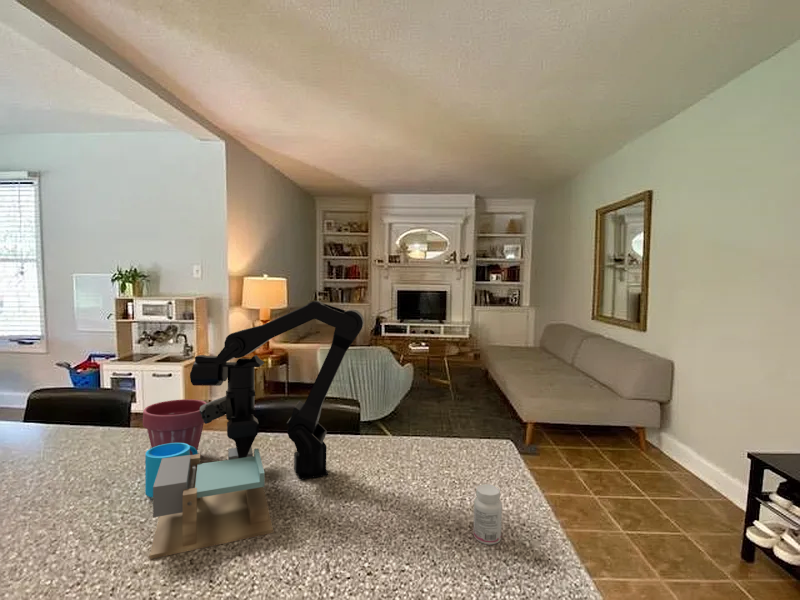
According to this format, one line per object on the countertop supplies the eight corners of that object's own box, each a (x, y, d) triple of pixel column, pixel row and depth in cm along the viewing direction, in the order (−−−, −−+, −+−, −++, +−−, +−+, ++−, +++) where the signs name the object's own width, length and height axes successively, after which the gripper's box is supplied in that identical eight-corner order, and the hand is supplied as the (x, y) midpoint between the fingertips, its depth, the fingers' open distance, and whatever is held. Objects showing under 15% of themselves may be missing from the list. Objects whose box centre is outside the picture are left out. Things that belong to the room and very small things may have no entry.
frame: (262, 486, 89) (262, 444, 88) (273, 532, 72) (273, 481, 72) (163, 503, 81) (163, 457, 81) (149, 559, 65) (149, 502, 64)
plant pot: (219, 455, 104) (220, 404, 104) (163, 476, 93) (163, 419, 92) (187, 442, 112) (187, 395, 112) (131, 460, 100) (131, 408, 100)
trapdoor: (258, 470, 85) (258, 446, 85) (264, 497, 74) (264, 470, 74) (162, 484, 78) (161, 458, 78) (153, 517, 67) (153, 487, 67)
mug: (167, 501, 82) (167, 460, 82) (135, 494, 85) (135, 454, 84) (211, 475, 94) (211, 439, 93) (182, 469, 96) (183, 434, 96)
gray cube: (251, 466, 99) (251, 445, 98) (252, 475, 94) (252, 453, 94) (228, 469, 97) (228, 448, 96) (228, 479, 92) (228, 456, 92)
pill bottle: (481, 525, 76) (482, 480, 75) (505, 536, 73) (507, 488, 72) (468, 537, 72) (469, 489, 72) (493, 549, 69) (494, 499, 69)
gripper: (203, 379, 100) (203, 444, 100) (200, 399, 83) (200, 476, 83) (252, 376, 104) (252, 437, 105) (259, 394, 87) (258, 467, 88)
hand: (240, 453), depth 95 cm, fingers open, 9 cm apart
